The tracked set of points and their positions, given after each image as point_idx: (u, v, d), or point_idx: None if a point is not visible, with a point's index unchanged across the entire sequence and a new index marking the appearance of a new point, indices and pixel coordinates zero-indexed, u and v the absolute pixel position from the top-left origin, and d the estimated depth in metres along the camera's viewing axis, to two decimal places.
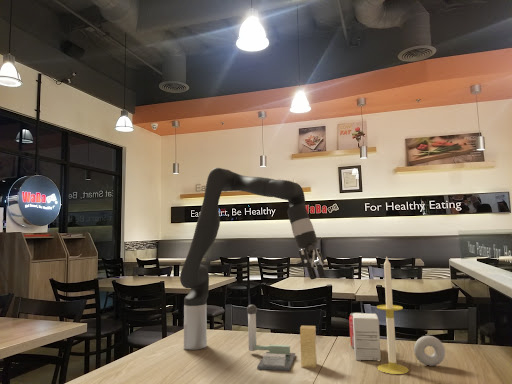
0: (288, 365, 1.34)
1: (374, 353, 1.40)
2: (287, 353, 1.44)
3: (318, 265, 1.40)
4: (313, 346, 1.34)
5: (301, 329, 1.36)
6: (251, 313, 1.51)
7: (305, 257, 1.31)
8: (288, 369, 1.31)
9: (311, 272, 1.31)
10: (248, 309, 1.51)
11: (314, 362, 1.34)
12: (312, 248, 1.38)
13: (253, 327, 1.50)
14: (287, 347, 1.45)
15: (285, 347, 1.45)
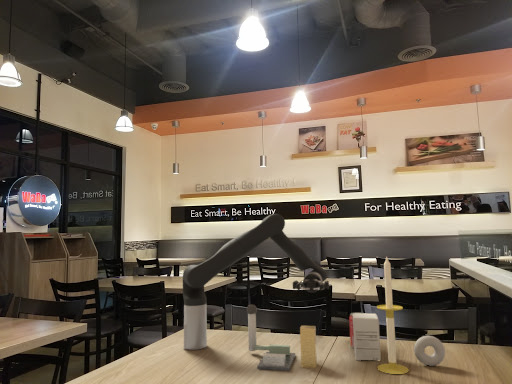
0: (288, 365, 1.34)
1: (374, 353, 1.40)
2: (287, 353, 1.44)
3: None
4: (313, 346, 1.34)
5: (301, 329, 1.36)
6: (251, 313, 1.51)
7: None
8: (288, 369, 1.31)
9: (323, 287, 1.50)
10: (248, 309, 1.51)
11: (314, 362, 1.34)
12: None
13: (253, 327, 1.50)
14: (287, 347, 1.45)
15: (285, 347, 1.45)
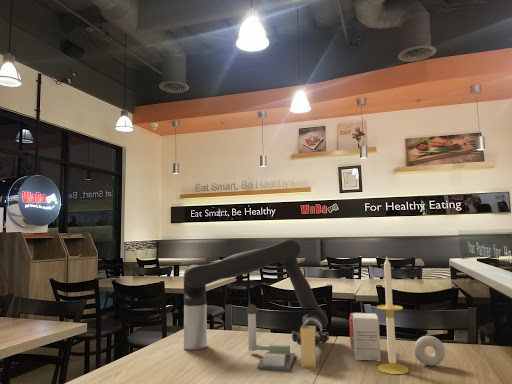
0: (288, 365, 1.34)
1: (374, 353, 1.40)
2: (287, 353, 1.44)
3: None
4: (313, 346, 1.34)
5: (301, 329, 1.36)
6: (251, 313, 1.51)
7: (326, 339, 1.40)
8: (288, 369, 1.31)
9: (319, 341, 1.36)
10: (248, 309, 1.51)
11: (314, 362, 1.34)
12: None
13: (253, 327, 1.50)
14: (287, 347, 1.45)
15: (285, 347, 1.45)
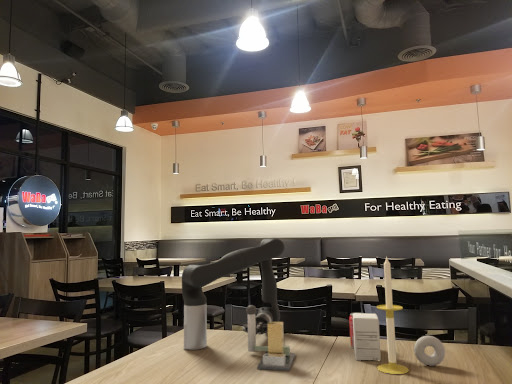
0: (288, 365, 1.34)
1: (374, 353, 1.40)
2: (287, 354, 1.43)
3: None
4: (280, 341, 1.37)
5: (268, 325, 1.39)
6: (250, 313, 1.50)
7: (267, 330, 1.57)
8: (288, 369, 1.31)
9: (257, 332, 1.54)
10: (247, 309, 1.50)
11: None
12: None
13: (252, 327, 1.49)
14: (287, 348, 1.44)
15: (285, 348, 1.44)
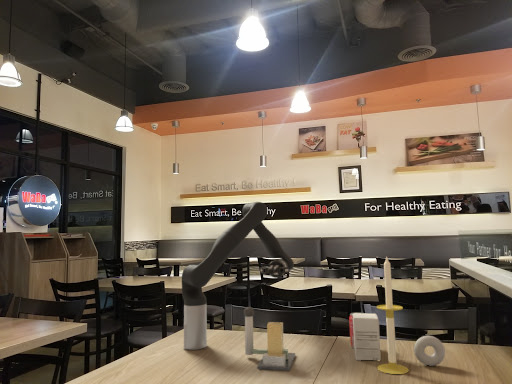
0: (288, 365, 1.34)
1: (374, 353, 1.40)
2: None
3: None
4: (279, 342, 1.37)
5: (268, 325, 1.38)
6: (248, 316, 1.46)
7: (283, 271, 1.67)
8: (288, 369, 1.31)
9: (274, 272, 1.64)
10: (245, 312, 1.46)
11: None
12: None
13: (250, 330, 1.45)
14: (285, 351, 1.40)
15: None
